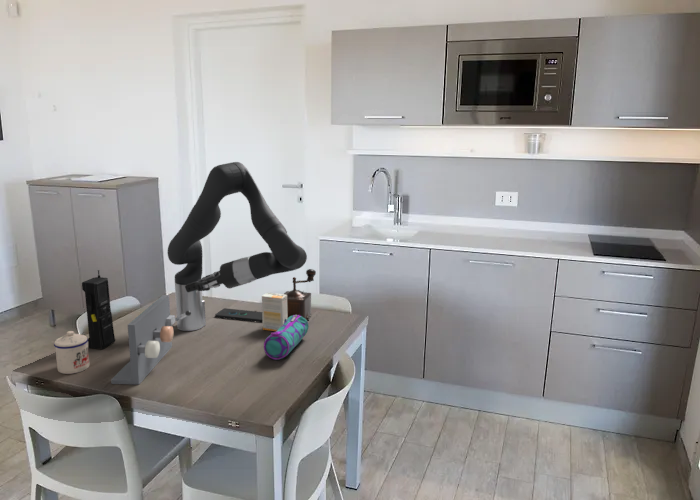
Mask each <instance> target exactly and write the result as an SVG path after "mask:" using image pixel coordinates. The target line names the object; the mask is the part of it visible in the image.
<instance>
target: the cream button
mask: <svg viewBox="0 0 700 500" xmlns="http://www.w3.org/2000/svg"><path fill="white" fill-rule="evenodd" d="M137 350H138V353H145V356H146V357H147V358H157V357H158V355H159V351H160V344H159V342H158V341H148V342H147V343H146V345H138V346H137Z"/></svg>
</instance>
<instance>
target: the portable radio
mask: <svg viewBox="0 0 700 500" xmlns="http://www.w3.org/2000/svg"><path fill="white" fill-rule="evenodd" d="M97 273H98V274H97V277H92V278H89V279H87V280H84V281H82V282H81V287H82V288H81V289H82V291H83V292H84V298H85V308H86V316H87V318H86V319H87V327H88V337H87V338H88V348H89V349H98V350H104V349H105V348H107V347H109V346H111V345H112V344H114V343H115V342H116V338H115V330H114V329H115V328H114V324H113V323H114V322H113V313H112V310H111V299H110V289H109V279H108V277H103V276H102V277H101V275H100V270H97Z"/></svg>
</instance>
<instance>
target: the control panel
mask: <svg viewBox="0 0 700 500" xmlns="http://www.w3.org/2000/svg"><path fill="white" fill-rule="evenodd" d="M170 302H171V301H170V295H169V294H162V295H161V296H160V297H159V298H158V299H157V300H155V301H154V302H153V303H152V304H151V305H149V306H148V307H147V308H146V309H144V310H143V311H142V312H141V313H140V314H138V316H136V317H135V318H134V319H133V320H132V321H130V322H129V323H128V324H127V334H128V346H129V347H128V348H129V349H128V351H129V361H128V363H126V364H125V365H124V366H123V367H122V368H121V369H120V370H119V371H118V372H117V373H116V374H115V375H114V376H113V377H112V378H111V379H110V381H111V383H110V384H113V385H140V384H141V383H142V382H143V381H144V380H145V379H146V377H147V376H148V375H149V374H150V372H152V370H153V369H154V368H155V367H156V366H157V364H159V362H160V361H161V360H162V359H163V358H164V357H165V355H166V354H167V353H168V352H169V351H170V350H171V348H173V340H172V341H171V342H161V340H160V338H153V331H154V330H161V328H162V327H163V326H172V327H173V325H174V324H175V323H176V321H175V318H176V314H175V315H174V314H171V305H170ZM148 341H158V342H159V344H160V351H159V355H158V357H157V358H147V357H146V356H145V353H138V350H137V346H138V345H146V343H147V342H148Z"/></svg>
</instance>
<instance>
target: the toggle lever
mask: <svg viewBox="0 0 700 500" xmlns="http://www.w3.org/2000/svg"><path fill="white" fill-rule="evenodd" d="M190 315H191V311H189V310H188V311H186V312H185V313H184V314H182V315H180V316H178V317H177V316H175V322H177V321H179V320H180V319H182V318H184V317H186V316H190Z"/></svg>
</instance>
